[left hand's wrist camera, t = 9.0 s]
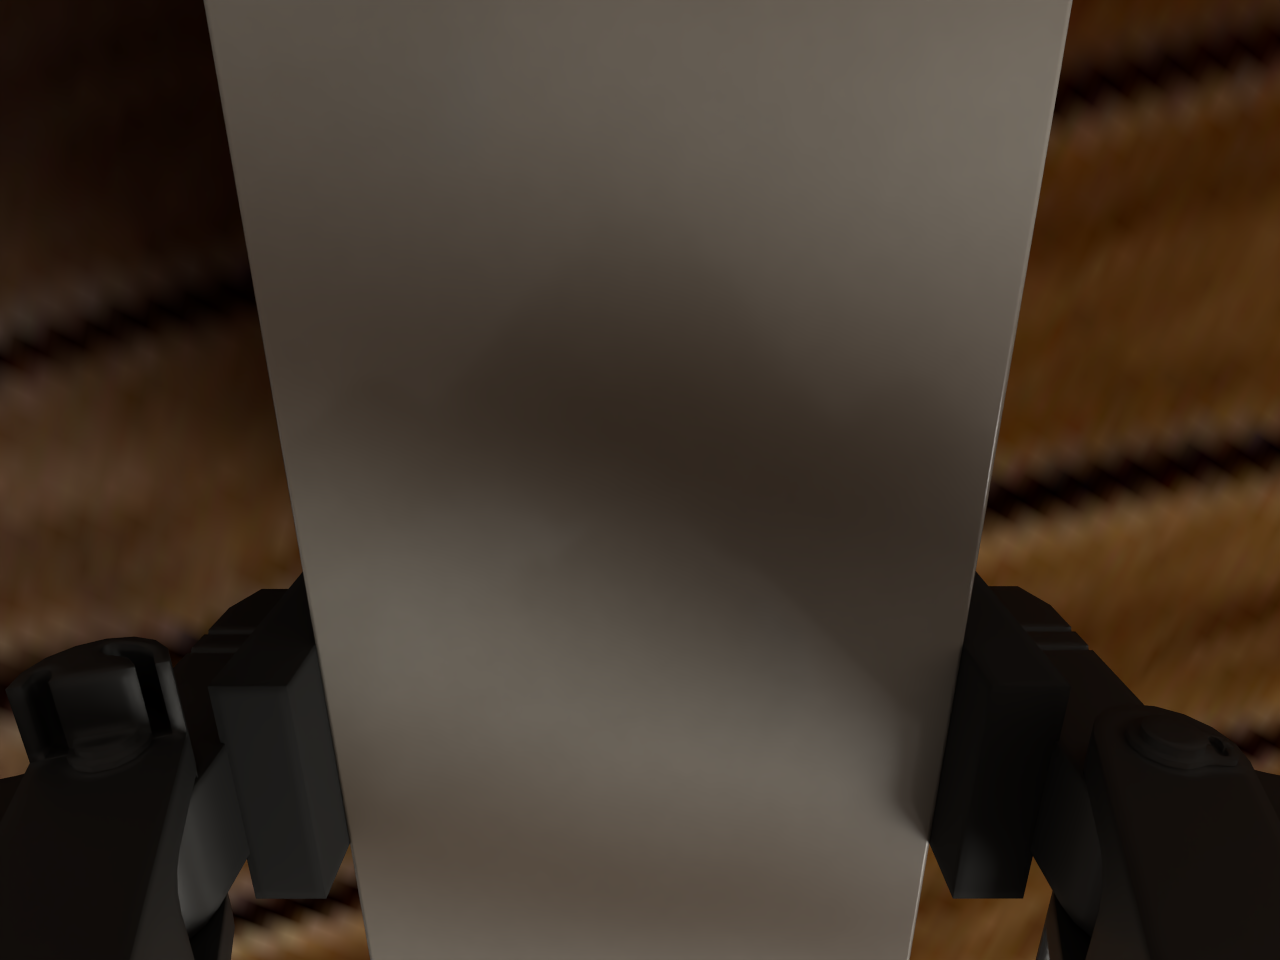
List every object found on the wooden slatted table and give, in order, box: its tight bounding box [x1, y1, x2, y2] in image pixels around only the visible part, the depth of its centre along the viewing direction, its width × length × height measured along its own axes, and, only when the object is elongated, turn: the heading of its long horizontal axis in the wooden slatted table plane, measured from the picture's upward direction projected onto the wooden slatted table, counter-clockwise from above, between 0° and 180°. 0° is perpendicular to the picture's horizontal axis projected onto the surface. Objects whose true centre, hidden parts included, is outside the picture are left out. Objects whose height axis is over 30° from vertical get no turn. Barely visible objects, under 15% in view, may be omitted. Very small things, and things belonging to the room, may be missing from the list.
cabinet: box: [204, 0, 1072, 960], centre depth 12 cm, size 17×7×10 cm, turn 0°
